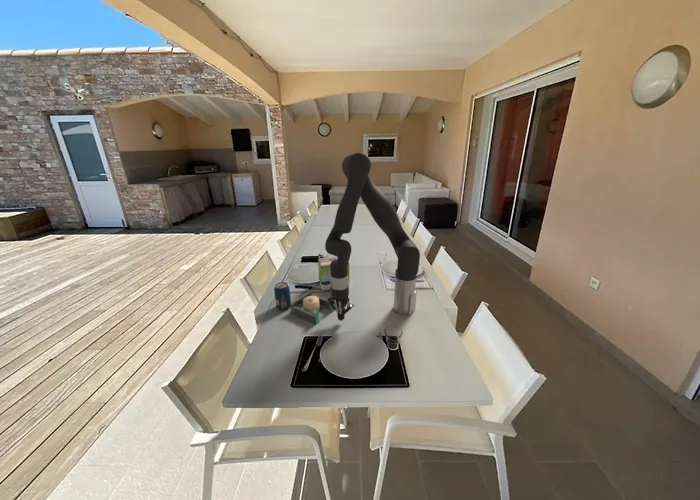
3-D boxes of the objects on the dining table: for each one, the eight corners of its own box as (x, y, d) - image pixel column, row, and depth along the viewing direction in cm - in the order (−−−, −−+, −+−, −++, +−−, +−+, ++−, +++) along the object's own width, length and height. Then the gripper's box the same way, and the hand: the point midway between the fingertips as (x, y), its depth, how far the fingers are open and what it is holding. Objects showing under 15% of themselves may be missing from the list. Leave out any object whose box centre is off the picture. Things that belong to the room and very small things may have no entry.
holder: (335, 309, 134) (334, 298, 131) (316, 324, 124) (315, 313, 121) (310, 299, 142) (309, 289, 140) (290, 313, 132) (289, 302, 130)
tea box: (322, 291, 149) (320, 266, 143) (319, 282, 158) (317, 258, 152) (350, 287, 153) (349, 262, 147) (345, 278, 162) (344, 254, 156)
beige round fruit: (322, 309, 135) (322, 298, 132) (313, 317, 129) (312, 306, 126) (310, 304, 138) (309, 294, 136) (300, 312, 132) (299, 301, 130)
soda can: (285, 301, 141) (282, 280, 136) (294, 306, 137) (292, 284, 132) (273, 307, 136) (270, 285, 131) (282, 313, 132) (279, 290, 127)
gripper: (358, 285, 116) (358, 320, 123) (332, 276, 123) (334, 310, 130) (347, 293, 111) (348, 329, 117) (321, 283, 118) (323, 318, 125)
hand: (341, 319), depth 124 cm, fingers closed
